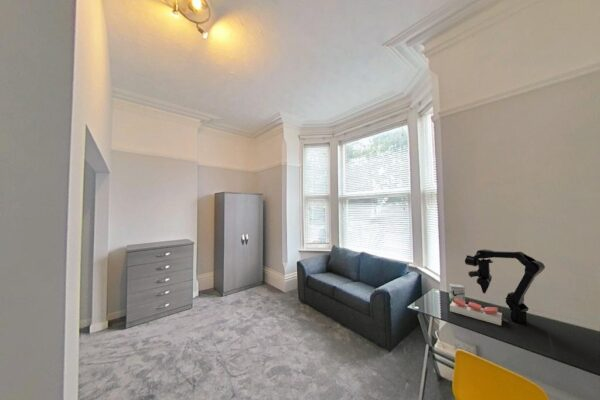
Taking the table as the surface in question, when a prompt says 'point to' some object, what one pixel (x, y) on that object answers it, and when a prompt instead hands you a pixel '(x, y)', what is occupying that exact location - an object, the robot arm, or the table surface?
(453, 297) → the ink box
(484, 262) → the robot arm
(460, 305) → the rocker
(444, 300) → the table surface
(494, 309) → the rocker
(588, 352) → the table surface
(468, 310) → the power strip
